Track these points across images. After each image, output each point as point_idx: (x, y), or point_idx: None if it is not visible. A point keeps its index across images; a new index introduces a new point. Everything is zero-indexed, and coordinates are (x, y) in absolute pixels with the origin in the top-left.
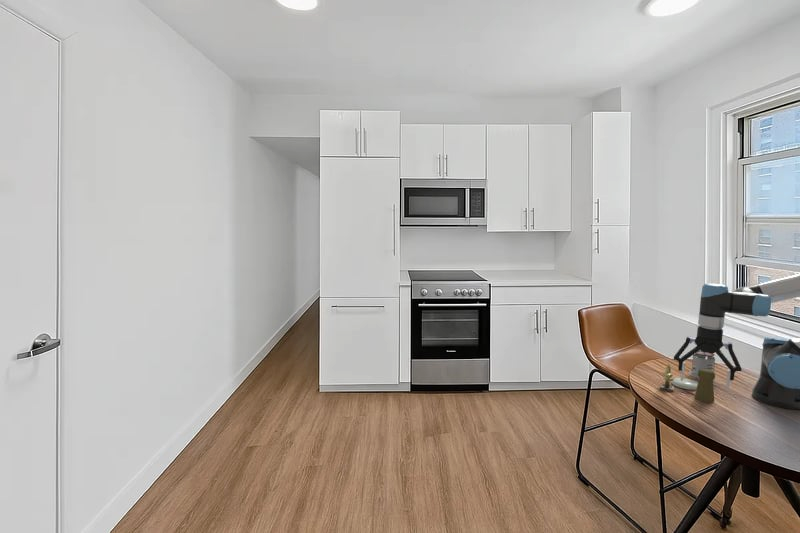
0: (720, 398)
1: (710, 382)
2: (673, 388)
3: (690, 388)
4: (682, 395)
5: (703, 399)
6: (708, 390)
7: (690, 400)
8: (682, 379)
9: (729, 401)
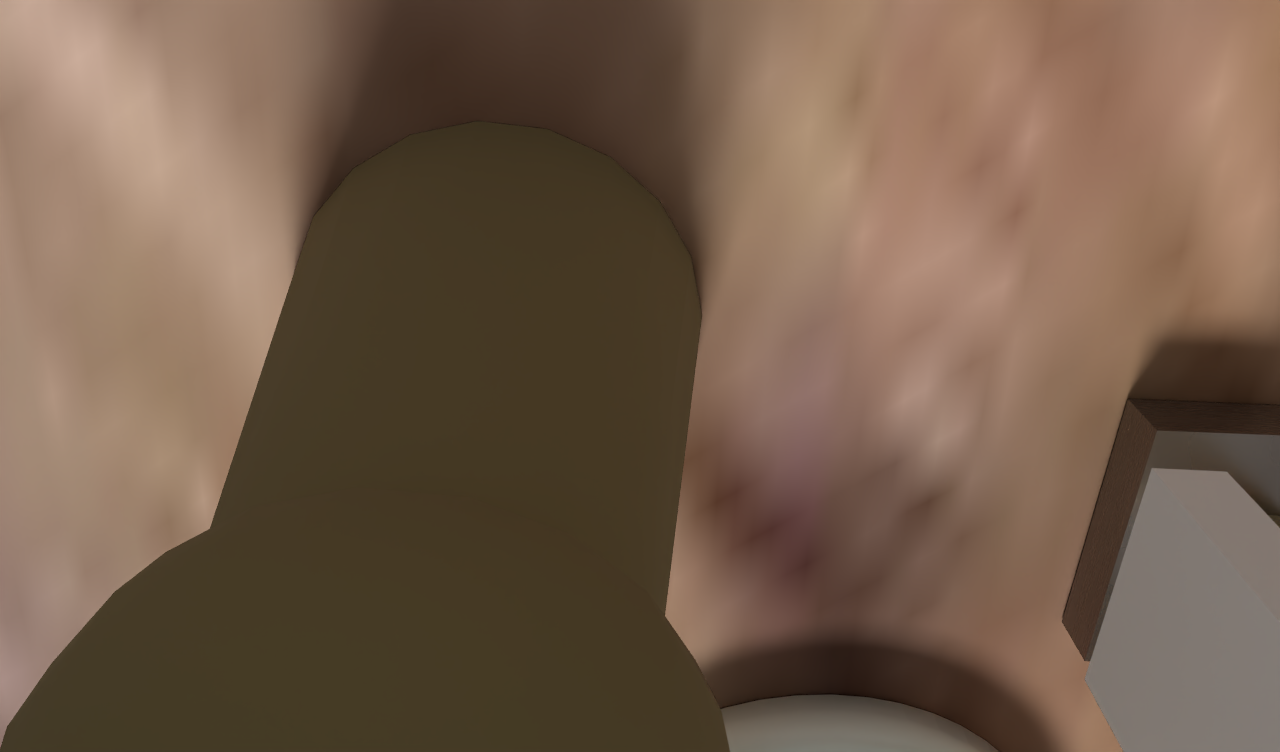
0: None
1: (257, 487)
2: (1136, 506)
3: (756, 726)
4: (952, 297)
5: (514, 147)
6: (368, 285)
7: (809, 31)
8: (1196, 492)
9: (20, 468)
